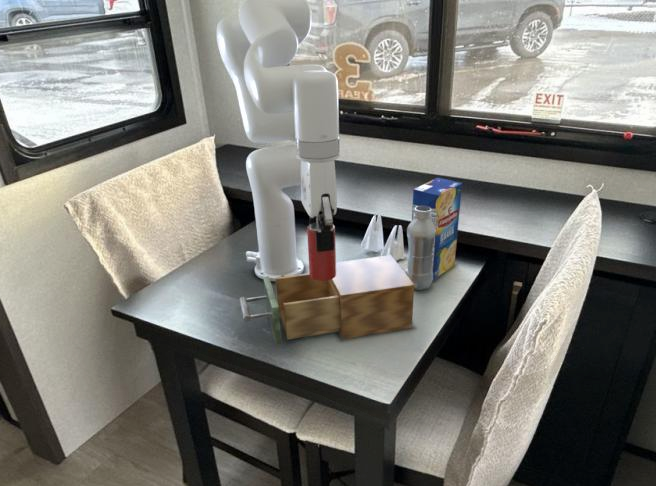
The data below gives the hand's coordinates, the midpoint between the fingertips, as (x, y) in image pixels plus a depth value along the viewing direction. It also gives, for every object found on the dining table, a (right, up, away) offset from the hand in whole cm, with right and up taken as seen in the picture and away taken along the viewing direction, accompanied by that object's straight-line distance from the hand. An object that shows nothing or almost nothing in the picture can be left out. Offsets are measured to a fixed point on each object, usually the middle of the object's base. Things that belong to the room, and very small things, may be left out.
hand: (321, 243), depth 104 cm
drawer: (-7, -16, +14) cm, 23 cm away
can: (0, -6, +3) cm, 7 cm away
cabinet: (+10, -14, +18) cm, 25 cm away
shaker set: (+15, +1, +45) cm, 47 cm away
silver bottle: (+23, -8, +29) cm, 38 cm away
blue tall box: (+27, -3, +37) cm, 46 cm away
